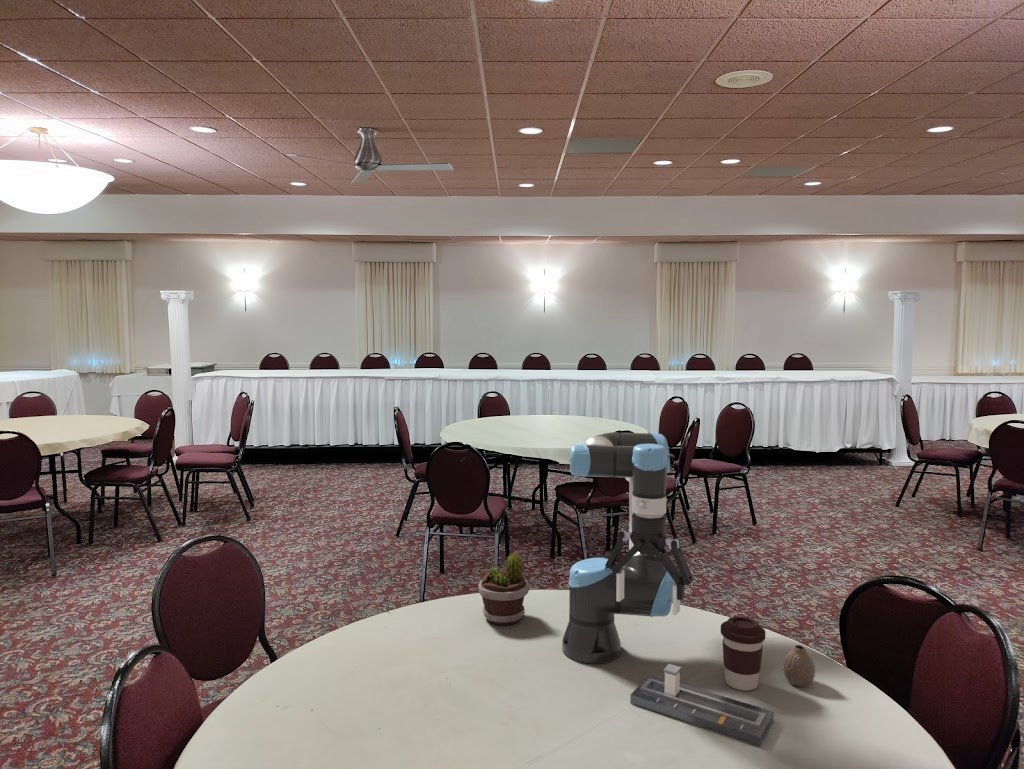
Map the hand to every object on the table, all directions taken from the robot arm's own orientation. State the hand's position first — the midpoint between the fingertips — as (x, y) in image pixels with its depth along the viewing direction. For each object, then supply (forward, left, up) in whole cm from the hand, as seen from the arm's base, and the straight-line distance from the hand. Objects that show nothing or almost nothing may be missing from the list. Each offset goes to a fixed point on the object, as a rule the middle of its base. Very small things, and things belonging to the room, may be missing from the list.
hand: (647, 606), depth 153 cm
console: (+13, 0, -21) cm, 24 cm away
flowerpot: (-50, +15, -21) cm, 56 cm away
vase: (+28, +25, -21) cm, 43 cm away
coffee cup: (+17, +17, -21) cm, 31 cm away
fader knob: (+6, 0, -18) cm, 19 cm away
